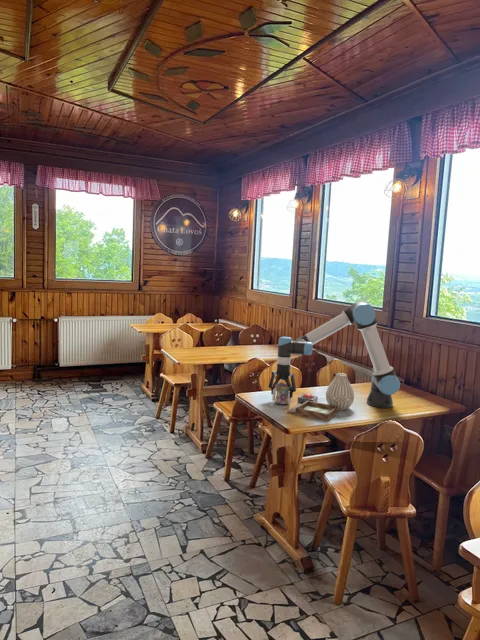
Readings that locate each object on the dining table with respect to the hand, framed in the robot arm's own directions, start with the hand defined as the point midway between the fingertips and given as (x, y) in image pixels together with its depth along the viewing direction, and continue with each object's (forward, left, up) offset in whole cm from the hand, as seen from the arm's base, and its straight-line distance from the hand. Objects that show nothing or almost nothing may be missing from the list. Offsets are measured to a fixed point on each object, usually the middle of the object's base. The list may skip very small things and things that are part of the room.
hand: (281, 401), depth 272 cm
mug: (+1, 0, -1) cm, 1 cm away
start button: (-13, -9, 0) cm, 16 cm away
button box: (-13, -9, -1) cm, 16 cm away
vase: (-31, -12, -1) cm, 33 cm away
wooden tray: (-21, +7, -1) cm, 22 cm away
